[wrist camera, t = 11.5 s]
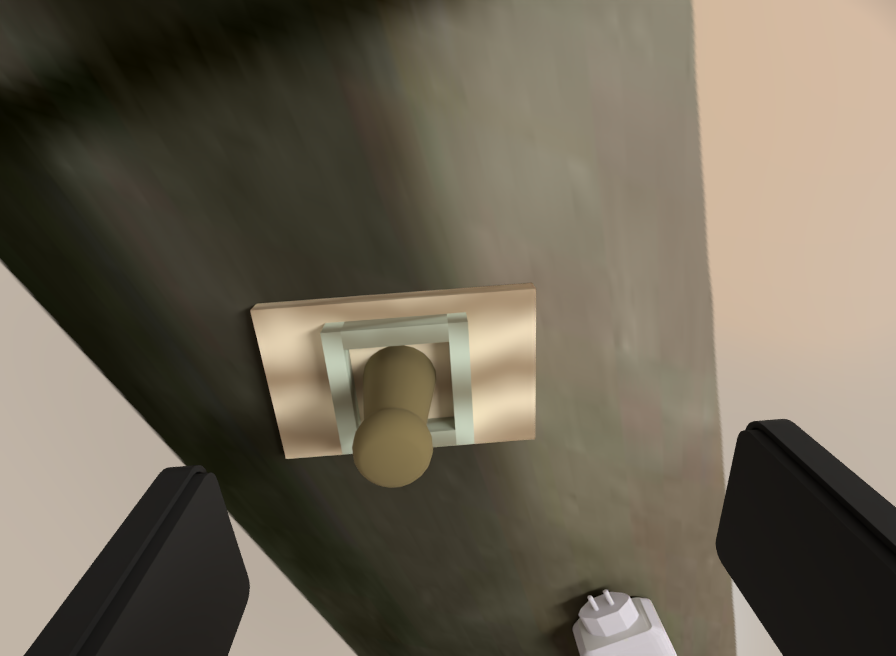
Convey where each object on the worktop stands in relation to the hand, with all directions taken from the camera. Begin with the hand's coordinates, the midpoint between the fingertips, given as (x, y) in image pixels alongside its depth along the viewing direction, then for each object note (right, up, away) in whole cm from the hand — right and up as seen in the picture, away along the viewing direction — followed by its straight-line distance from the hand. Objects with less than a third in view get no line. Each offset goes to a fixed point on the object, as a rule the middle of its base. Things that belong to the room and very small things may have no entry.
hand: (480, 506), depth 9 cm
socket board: (-4, 0, +33) cm, 33 cm away
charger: (+18, -29, +46) cm, 58 cm away
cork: (-5, -1, +31) cm, 32 cm away
